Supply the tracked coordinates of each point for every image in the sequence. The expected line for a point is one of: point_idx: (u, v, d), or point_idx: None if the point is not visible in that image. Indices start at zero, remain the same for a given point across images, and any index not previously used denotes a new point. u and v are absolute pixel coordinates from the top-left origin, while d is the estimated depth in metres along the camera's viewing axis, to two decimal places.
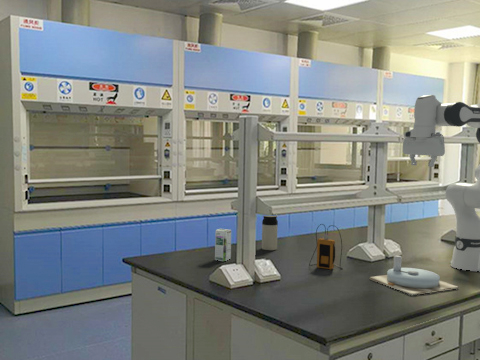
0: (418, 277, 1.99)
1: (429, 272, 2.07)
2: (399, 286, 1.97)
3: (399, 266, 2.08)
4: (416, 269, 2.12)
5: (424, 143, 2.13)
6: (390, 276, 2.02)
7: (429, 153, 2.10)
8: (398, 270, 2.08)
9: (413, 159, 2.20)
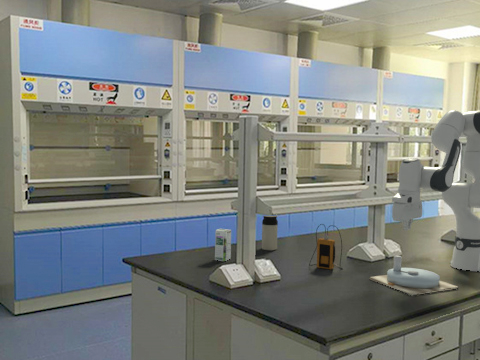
0: (418, 277, 1.99)
1: (429, 272, 2.07)
2: (399, 286, 1.97)
3: (399, 266, 2.08)
4: (416, 269, 2.12)
5: (413, 207, 2.12)
6: (390, 276, 2.02)
7: (417, 216, 2.15)
8: (398, 270, 2.08)
9: None
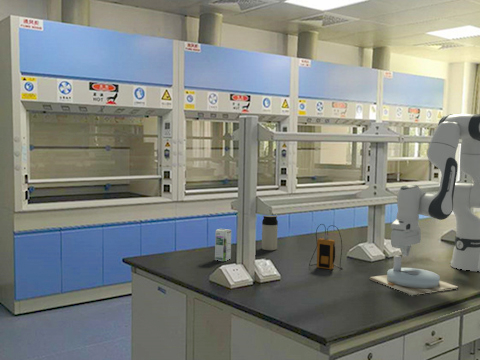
0: (418, 277, 1.99)
1: (429, 272, 2.07)
2: (399, 286, 1.97)
3: (399, 266, 2.08)
4: (416, 269, 2.12)
5: (412, 233, 2.13)
6: (390, 276, 2.02)
7: (415, 242, 2.15)
8: (398, 270, 2.08)
9: None
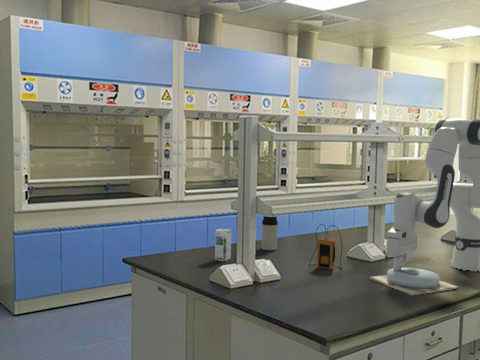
0: (418, 277, 1.99)
1: (429, 272, 2.07)
2: (399, 286, 1.97)
3: (399, 266, 2.08)
4: (416, 269, 2.12)
5: (408, 241, 2.11)
6: (390, 276, 2.02)
7: (412, 250, 2.14)
8: (398, 270, 2.08)
9: None
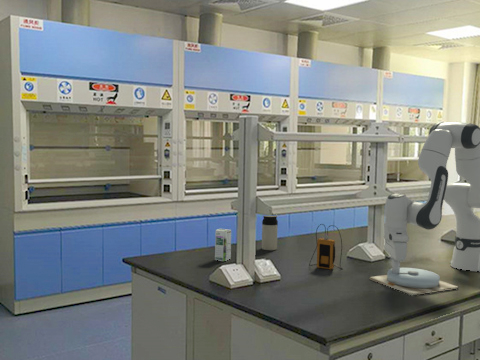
0: (425, 276, 2.01)
1: (416, 269, 2.11)
2: (399, 286, 1.97)
3: (399, 268, 2.04)
4: (402, 268, 2.12)
5: None
6: (404, 280, 1.96)
7: None
8: (398, 273, 2.04)
9: None
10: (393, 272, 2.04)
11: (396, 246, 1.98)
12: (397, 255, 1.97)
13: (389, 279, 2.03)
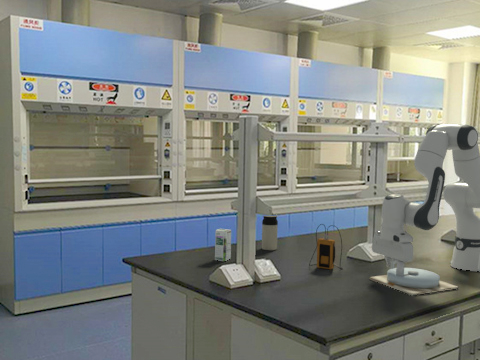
0: (426, 275, 2.03)
1: (405, 268, 2.12)
2: (399, 286, 1.97)
3: None
4: (394, 269, 2.10)
5: None
6: (418, 282, 1.94)
7: None
8: (403, 275, 2.01)
9: None
10: (399, 275, 2.00)
11: (405, 247, 1.96)
12: (406, 256, 1.96)
13: (398, 283, 1.98)
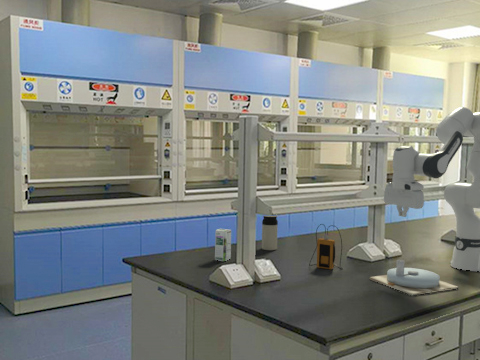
0: (426, 275, 2.03)
1: (405, 268, 2.12)
2: (399, 286, 1.97)
3: None
4: (394, 269, 2.10)
5: None
6: (418, 282, 1.94)
7: None
8: (403, 275, 2.01)
9: None
10: (399, 275, 2.00)
11: (416, 194, 2.06)
12: (417, 203, 2.06)
13: (398, 283, 1.98)
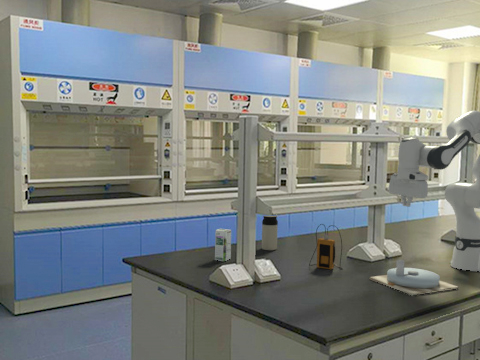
0: (426, 275, 2.03)
1: (405, 268, 2.12)
2: (399, 286, 1.97)
3: None
4: (394, 269, 2.10)
5: None
6: (418, 282, 1.94)
7: None
8: (403, 275, 2.01)
9: None
10: (399, 275, 2.00)
11: (420, 184, 2.12)
12: (421, 192, 2.12)
13: (398, 283, 1.98)
